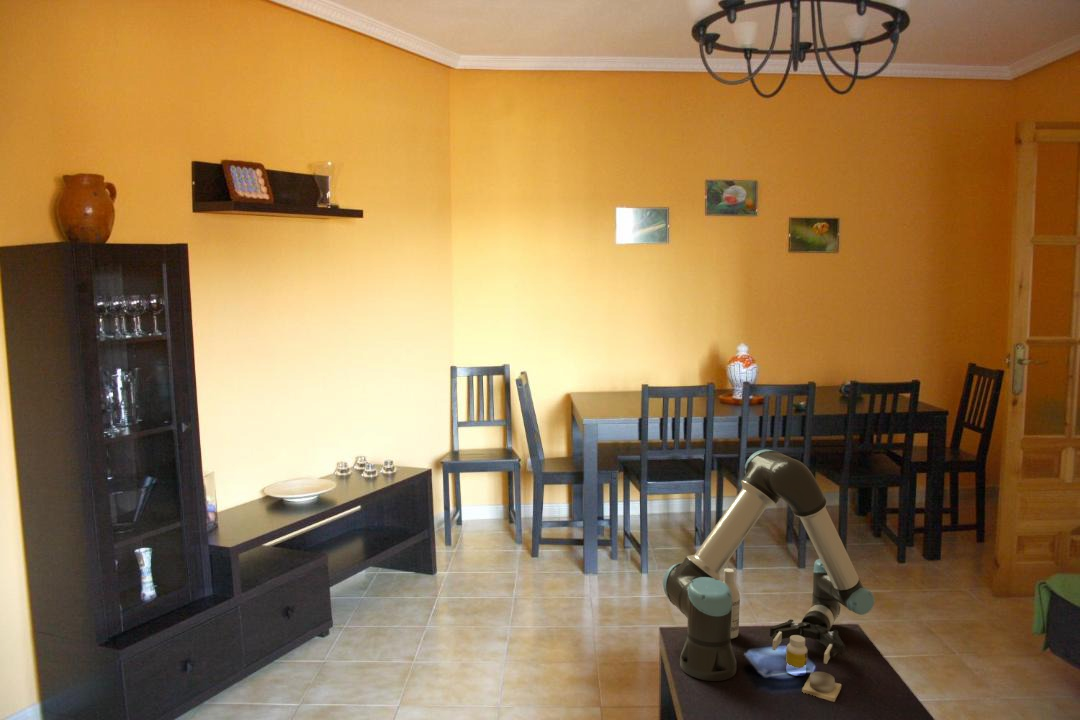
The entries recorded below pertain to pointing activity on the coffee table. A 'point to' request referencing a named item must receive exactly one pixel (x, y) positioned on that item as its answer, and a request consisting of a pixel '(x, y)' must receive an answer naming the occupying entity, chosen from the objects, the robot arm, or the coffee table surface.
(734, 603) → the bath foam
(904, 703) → the coffee table surface
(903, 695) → the coffee table surface
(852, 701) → the coffee table surface
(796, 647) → the supplement bottle
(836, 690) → the boss
